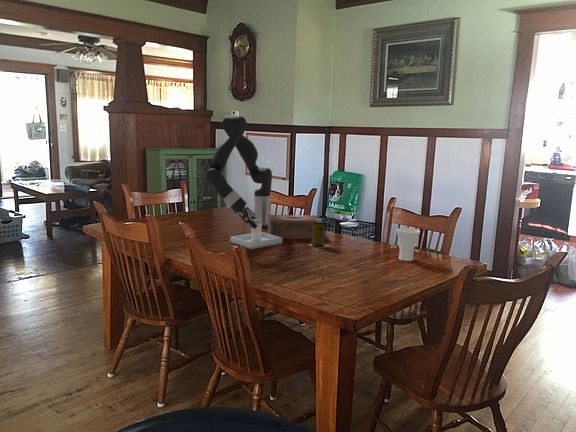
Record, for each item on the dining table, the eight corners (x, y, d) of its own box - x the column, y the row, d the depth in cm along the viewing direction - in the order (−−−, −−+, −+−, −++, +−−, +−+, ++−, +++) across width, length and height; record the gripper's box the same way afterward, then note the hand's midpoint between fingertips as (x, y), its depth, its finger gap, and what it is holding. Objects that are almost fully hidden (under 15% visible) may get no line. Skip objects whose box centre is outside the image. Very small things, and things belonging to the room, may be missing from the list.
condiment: (318, 243, 250) (319, 219, 248) (330, 246, 244) (331, 222, 242) (307, 245, 246) (308, 221, 243) (319, 248, 239) (320, 224, 237)
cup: (401, 263, 219) (403, 233, 216) (390, 256, 229) (392, 228, 226) (422, 262, 221) (424, 232, 219) (410, 255, 231) (412, 227, 229)
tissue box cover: (314, 233, 274) (315, 215, 272) (319, 239, 260) (319, 220, 258) (267, 232, 271) (268, 214, 269) (270, 239, 257) (270, 220, 255)
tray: (261, 237, 258) (261, 231, 257) (282, 243, 247) (282, 237, 246) (230, 242, 244) (230, 236, 244) (250, 249, 233) (250, 243, 233)
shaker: (256, 239, 249) (257, 218, 247) (263, 241, 245) (264, 220, 243) (248, 241, 246) (249, 219, 244) (255, 243, 242) (256, 220, 240)
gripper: (237, 198, 235) (260, 223, 236) (243, 194, 249) (265, 218, 250) (226, 209, 237) (249, 234, 238) (232, 204, 251) (254, 228, 252)
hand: (257, 225), depth 244 cm, fingers open, 8 cm apart
